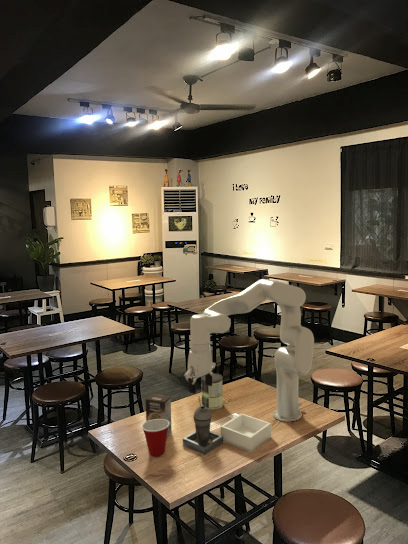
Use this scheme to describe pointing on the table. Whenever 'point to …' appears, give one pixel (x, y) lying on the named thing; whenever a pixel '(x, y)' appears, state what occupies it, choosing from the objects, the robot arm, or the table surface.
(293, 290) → the robot arm
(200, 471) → the table surface
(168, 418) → the coffee box
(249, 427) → the bin
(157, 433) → the plastic cup
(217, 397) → the coffee can
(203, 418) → the beverage cup
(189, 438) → the holder
